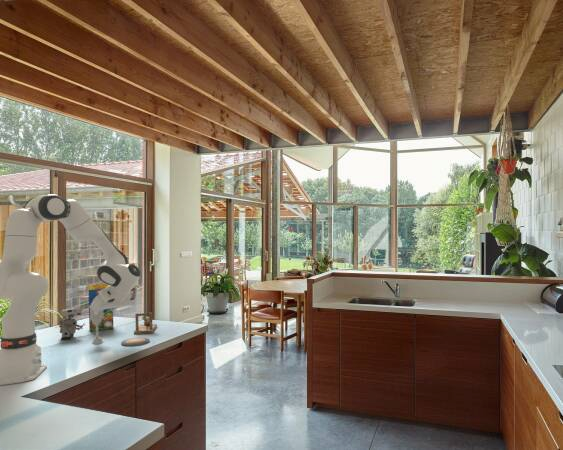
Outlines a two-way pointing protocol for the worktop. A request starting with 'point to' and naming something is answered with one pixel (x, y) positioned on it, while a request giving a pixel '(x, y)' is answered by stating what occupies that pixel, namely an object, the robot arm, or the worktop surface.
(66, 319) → the figurine
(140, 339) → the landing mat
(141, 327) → the toy catapult
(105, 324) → the blue food package
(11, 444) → the worktop surface
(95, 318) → the chalice
